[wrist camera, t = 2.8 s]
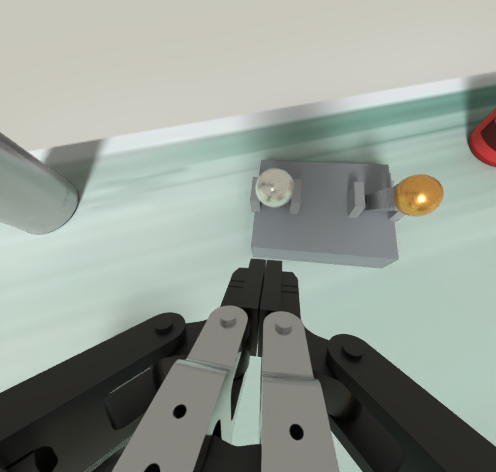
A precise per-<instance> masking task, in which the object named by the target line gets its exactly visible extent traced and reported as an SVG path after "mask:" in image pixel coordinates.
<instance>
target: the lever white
mask: <svg viewBox="0 0 496 472" xmlns="http://www.w3.org/2000/svg"><path fill="white" fill-rule="evenodd" d="M255 190H256V195H257V197H258V199H259V200H260V201H261V202H262V203H263V204H264V205H266V206H268V207H273V208H275V207H281V206H283V205H285V206H286V203H288V202H289V200H290V199H291V198H292V196H293V193H294V182H293V179H292V177H291V176H290V175H289V174H288V173H287V172H286V171H284V170H282V169H278V168H272V169H268V170H266V171H265V172H263V173H262V174H261V175H260V176H259V178H258V179H257V182H256V187H255Z"/></svg>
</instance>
